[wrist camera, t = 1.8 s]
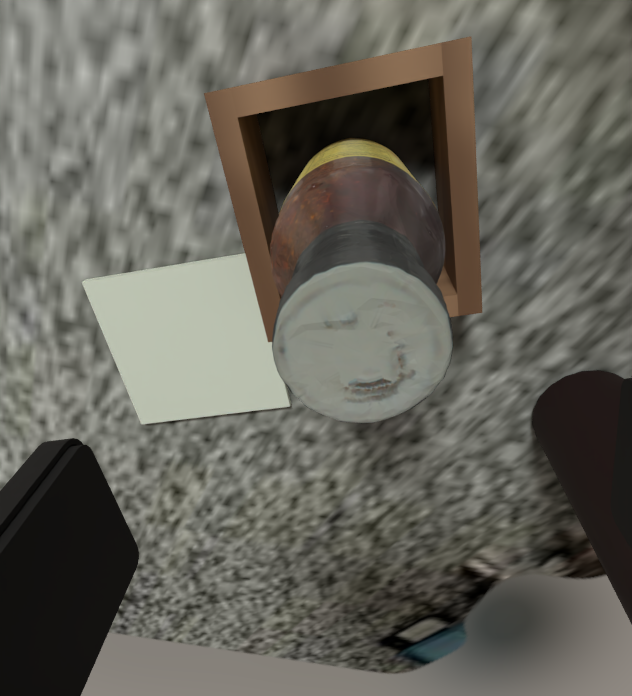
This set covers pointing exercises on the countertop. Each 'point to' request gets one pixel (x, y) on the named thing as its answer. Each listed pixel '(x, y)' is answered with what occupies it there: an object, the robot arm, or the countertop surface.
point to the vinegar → (588, 462)
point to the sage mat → (189, 339)
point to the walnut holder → (340, 80)
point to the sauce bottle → (359, 286)
